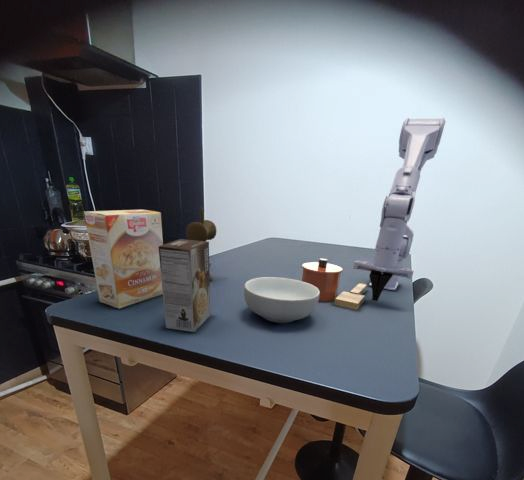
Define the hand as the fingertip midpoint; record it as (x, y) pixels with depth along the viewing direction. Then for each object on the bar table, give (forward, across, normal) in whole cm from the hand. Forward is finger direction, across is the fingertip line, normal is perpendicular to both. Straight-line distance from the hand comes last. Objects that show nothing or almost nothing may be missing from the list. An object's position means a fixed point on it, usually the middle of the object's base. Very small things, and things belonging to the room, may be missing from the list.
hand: (375, 299), depth 85 cm
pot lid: (-6, -15, -3) cm, 17 cm away
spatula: (+1, -6, +1) cm, 6 cm away
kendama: (+1, -48, -12) cm, 50 cm away
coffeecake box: (+1, -51, -36) cm, 62 cm away
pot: (+1, -15, -3) cm, 15 cm away
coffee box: (+1, -31, -39) cm, 50 cm away
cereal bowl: (+1, -17, -24) cm, 30 cm away
